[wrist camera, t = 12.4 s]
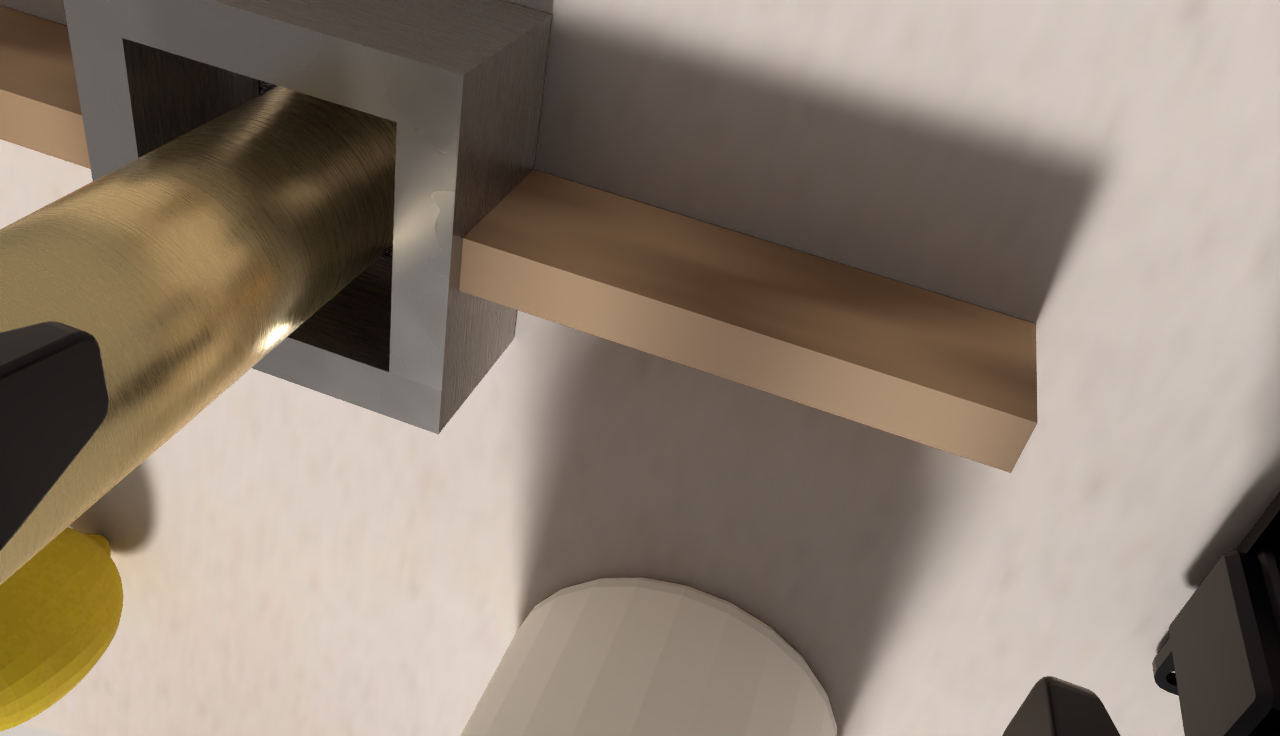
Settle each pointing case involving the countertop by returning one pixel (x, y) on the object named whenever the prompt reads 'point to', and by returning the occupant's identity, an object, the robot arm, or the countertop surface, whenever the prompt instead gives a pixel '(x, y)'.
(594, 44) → the countertop surface
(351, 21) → the gray square planter
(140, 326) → the hinge pin
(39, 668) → the lemon
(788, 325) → the hinge leaves
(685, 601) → the mug
